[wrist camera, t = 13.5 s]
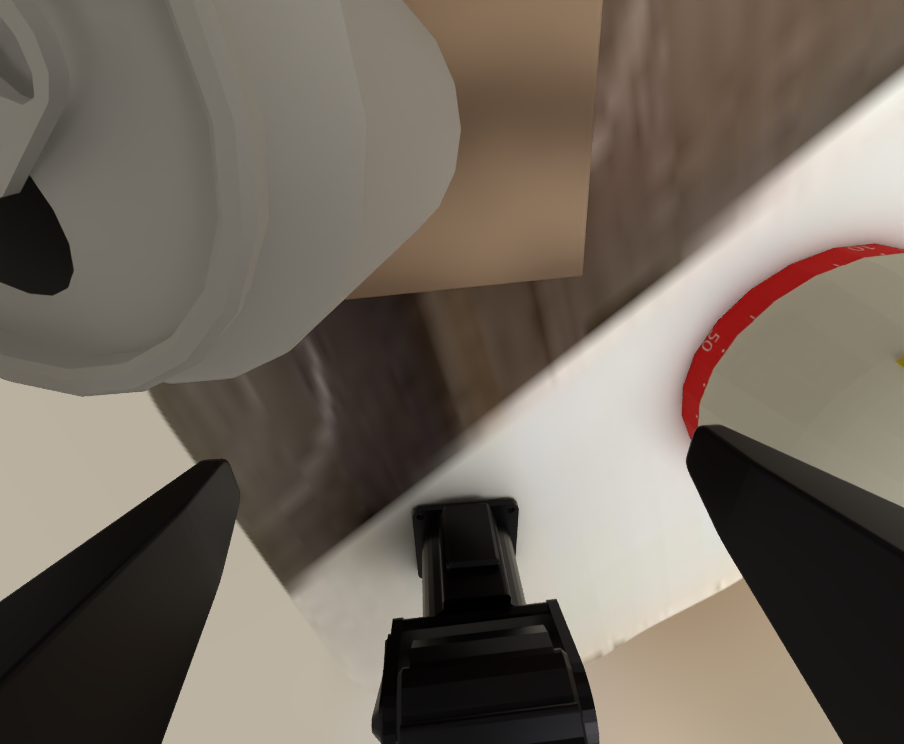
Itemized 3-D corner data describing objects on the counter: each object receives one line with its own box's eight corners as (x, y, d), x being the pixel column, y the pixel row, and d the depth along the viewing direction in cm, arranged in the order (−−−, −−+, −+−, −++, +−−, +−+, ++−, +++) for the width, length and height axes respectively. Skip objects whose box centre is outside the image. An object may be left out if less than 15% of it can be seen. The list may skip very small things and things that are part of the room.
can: (197, 103, 15) (-584, 32, 4) (358, -90, 12) (-788, -1676, 1) (346, 284, 17) (73, 521, 7) (509, 158, 14) (481, 227, 4)
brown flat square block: (564, 258, 21) (582, 275, 18) (328, 282, 20) (318, 302, 18) (581, -62, 15) (609, -92, 13) (255, -35, 15) (228, -61, 13)
